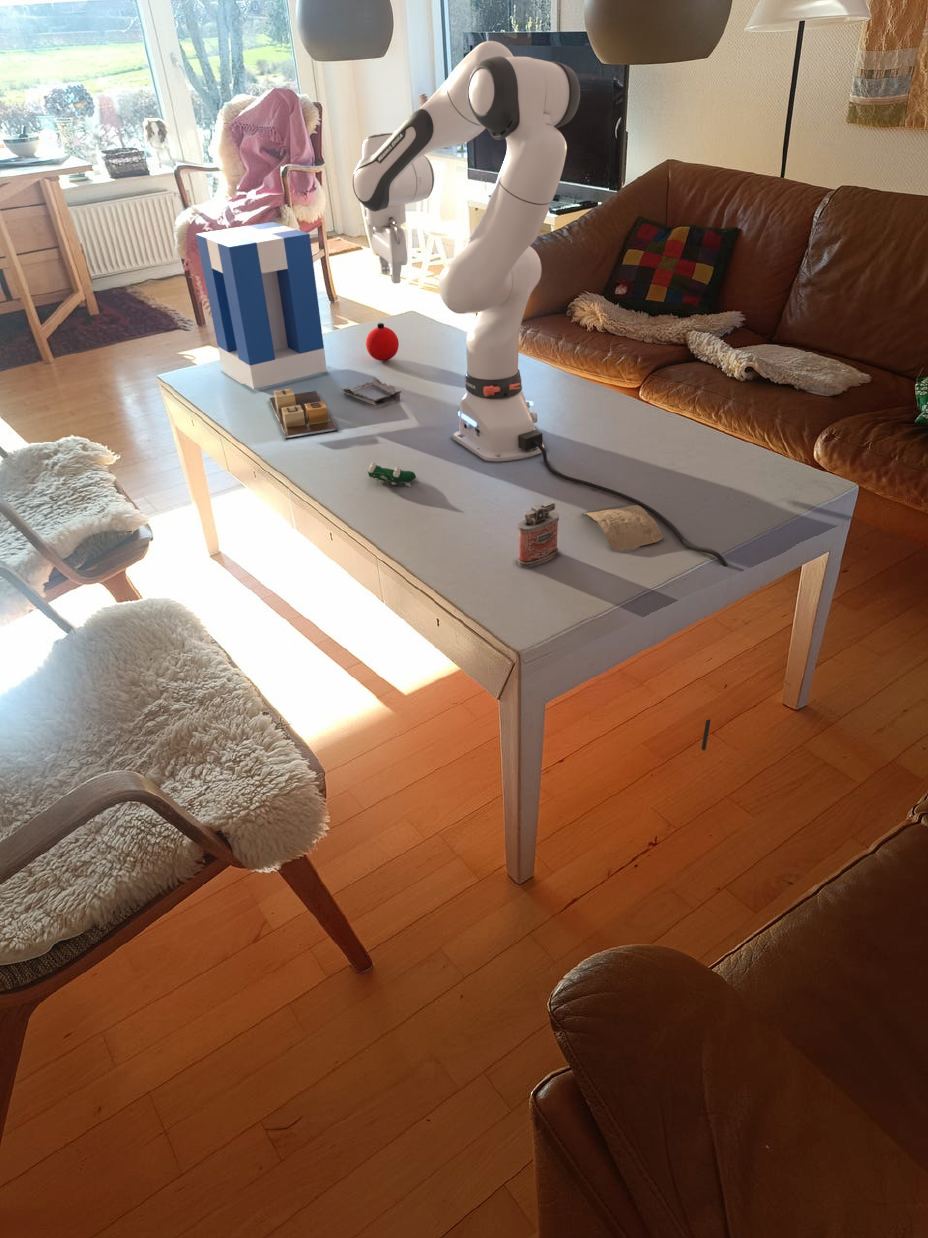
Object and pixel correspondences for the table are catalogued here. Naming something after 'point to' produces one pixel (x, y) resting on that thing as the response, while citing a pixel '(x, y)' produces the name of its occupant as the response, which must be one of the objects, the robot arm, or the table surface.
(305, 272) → the toy block
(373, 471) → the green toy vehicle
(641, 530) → the clay tablet
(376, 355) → the ornament
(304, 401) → the letter board
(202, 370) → the table surface
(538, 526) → the lighter
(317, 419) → the letter s tile
